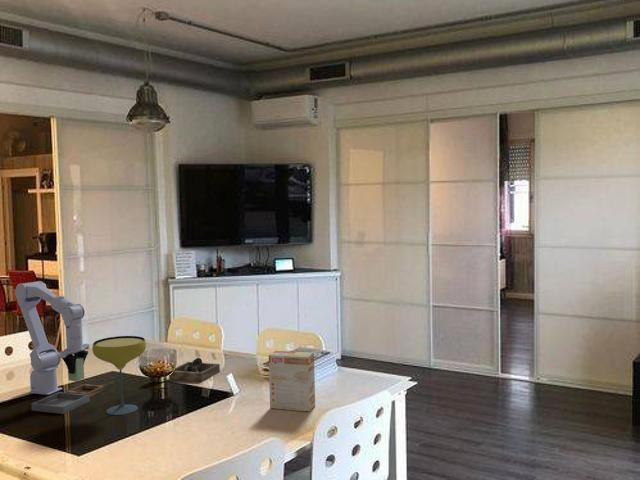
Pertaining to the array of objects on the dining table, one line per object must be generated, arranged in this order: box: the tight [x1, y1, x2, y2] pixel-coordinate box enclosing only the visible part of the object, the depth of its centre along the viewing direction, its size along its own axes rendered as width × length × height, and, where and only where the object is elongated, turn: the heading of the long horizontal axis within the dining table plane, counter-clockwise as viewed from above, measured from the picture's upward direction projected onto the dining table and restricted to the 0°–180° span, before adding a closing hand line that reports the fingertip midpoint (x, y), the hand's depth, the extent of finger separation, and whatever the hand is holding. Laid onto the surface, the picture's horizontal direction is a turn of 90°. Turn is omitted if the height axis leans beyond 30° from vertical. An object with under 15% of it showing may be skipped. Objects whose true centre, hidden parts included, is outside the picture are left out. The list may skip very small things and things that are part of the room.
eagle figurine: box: [185, 357, 203, 373], centre depth 271 cm, size 8×7×9 cm
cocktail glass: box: [92, 335, 147, 416], centre depth 225 cm, size 18×18×25 cm
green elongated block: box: [67, 357, 85, 382], centre depth 241 cm, size 4×4×8 cm
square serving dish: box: [168, 361, 221, 383], centre depth 268 cm, size 15×15×4 cm
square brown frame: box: [65, 383, 107, 398], centre depth 248 cm, size 10×10×2 cm
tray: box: [30, 391, 91, 415], centre depth 232 cm, size 14×14×2 cm
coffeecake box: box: [268, 350, 316, 413], centre depth 225 cm, size 15×7×20 cm, turn 71°
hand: (75, 371), depth 241 cm, fingers closed on green elongated block, 4 cm apart
